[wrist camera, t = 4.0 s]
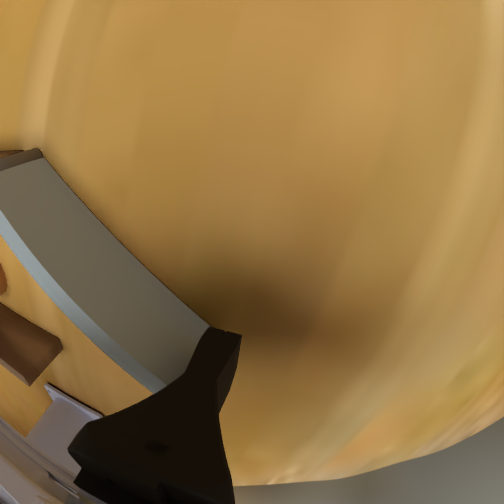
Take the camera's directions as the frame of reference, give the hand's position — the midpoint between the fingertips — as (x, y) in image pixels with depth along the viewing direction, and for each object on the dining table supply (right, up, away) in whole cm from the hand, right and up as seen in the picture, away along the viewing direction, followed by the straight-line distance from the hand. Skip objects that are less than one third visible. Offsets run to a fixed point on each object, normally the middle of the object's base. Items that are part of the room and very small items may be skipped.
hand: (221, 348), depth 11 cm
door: (-6, +4, +1) cm, 7 cm away
